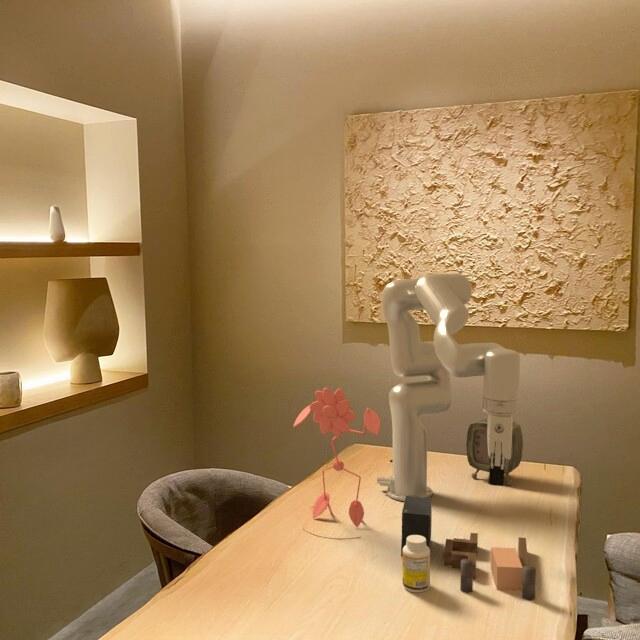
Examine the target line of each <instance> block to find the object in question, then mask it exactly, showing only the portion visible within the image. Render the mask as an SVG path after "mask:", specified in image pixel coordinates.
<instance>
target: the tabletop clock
mask: <svg viewBox="0 0 640 640" xmlns="http://www.w3.org/2000/svg"><path fill="white" fill-rule="evenodd" d="M487 423H488V415H487V416H486V417H483V418H479V419H478V420H476V421H473V422H472V423H471V424H469V427H468V430H467V433H466V435H467V436H466V444H465V445H466V457H467V462H468V464H469V466H471V467H472V468H473V469H476V470H475V472H473V473H472V474H471V478H472V479H477V478H478V473H479V472H480V471H481V472H487V473H489V472H490V465H491V458H489V457H488V444H487ZM523 440H524V439H523V432H522V428H521V425H520V424H519V423H517V422H515V421H513V423H512V446H511V459H510V460H508V459H505V457H504V475H505V477H506V478H507V480H506V485H507V486H512V485H513V481H512V480H511V479H510V474H511V472H513V471H514V470H515V469H517V468H518V467H519V466H520V464H521V461H522V458H523V450H524V449H523V447H524V443H523V442H524V441H523ZM493 465H494V464H493Z"/></svg>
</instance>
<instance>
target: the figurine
mask: <svg viewBox="0 0 640 640" xmlns="http://www.w3.org/2000/svg"><path fill="white" fill-rule="evenodd" d="M314 396H315V399H316V401H313V402H311V404H310V405H307V406H306V407H305V408H303V410H302V411H301V412H300V413H299V414H298V416H297V417H296V419H295V421H294V423H293V427H292V428H295V427H297V426H299V425H300V424H301V423H303V422H304V421H305V420H306V419H307V418H308V416H309V415H310V413H311V412H313V415H312V421H313V422H314V423H316V424H319V429H320V432H321V434H322V435H327V434H329V432H331V433H332V434H333V435H334V437H333V438H331V442H330V444H331V446H332V451H333V454H334V456H335V459H336V460H335V461H334V462H333V464H332V466H329V467H326V468H323V469H322V484H323V485H322V486H323V493H322V494H321V495H320V496H319V497H318V498H317V499H316V500H315V502H314V504H313V505H312V506H309V508H312V509H313V510H312V518H313V519H314V518H317V517H318V516H320V515H321V514H323V513H324V512H325V511H326V509H327V508H328V511H329V514H333V511H332V508H331V506H330V499H331V498H330V494H329V493H328V492H326V487H325V485H326V484H325V471H328V470H329V469H332V468H333V470H335V471H337V472H340V471H343V470H344V471H345V472H348V473H349V474H352V475H354V476H356V477H358V485H357V491H356V492H357V493H356V499H354V500H352V501H351V502H350V505H349V508H348V515H349V518H350V520H351V522H352V523H353V525H354V526H355V527H356V528H358V527H360V525H361V523H362V521H363V519H364V517H365V515H364V514H365V510H364V507H363V504H362V503H361V501H359V492H360V488H361V486H360V485H361V478H362V477H361V476H360V475H358V474H356V473H355V472H352V471H350V470H348V469H346V468H344V467H345V464H344V462H343V461H342V460H341V459H338V455H337V450H336V447H335V443H334V441H336V440H337V438H340V437H341V436H342V434H343V433H348V432H351V433H355V434H358V435H365V434H366V431H367V430H368V431H369V432H370V433H371V434H372V435H375V436H376V437H378V436H379V433H380V429H381V427H382V425H381V419H380V417H379V414H377V412H376V411H375V410H373V409H371V408H370V407H367V408H366V410H365V412H364V413H363V423H364V425H363V430H362V431H359V430H354V429H351V427H350V424H349V423H350V422H353V421H354V420H355V419H356V417H357V415H356V413H355V412H354V411H353V410H350V407H351V402H350V401H351V400H349V399H346V398H345V397H346V395H345V393H344V391H343V389H342V388H337V389H336V391H334V392H333V391H332V390H331V389H329V388H328V387H324V388H323V390H316V391H315V392H314ZM366 429H367V430H366ZM302 530H304V531H305V532H306V533H309V534H310V535H313V536H315V537H318V538H322V539H324V538H325V539H328V537H326V536H322V535H321V536H320V535H317V534H314V533H311V532H309V531H307V530H305V528H303V529H302ZM359 538H361V536H358V537H356V539H359ZM330 539H331V540H332V539H333V540H338V541H343V540H344V541H345V540H352V539H355V537H349V538H336V537H334V538H332V537H329V540H330Z"/></svg>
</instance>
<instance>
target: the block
mask: <svg viewBox="0 0 640 640" xmlns="http://www.w3.org/2000/svg"><path fill="white" fill-rule="evenodd" d="M490 570H491V574H492V577H493V580H494V584H495V588H496V590H497V591H499V590H500V591H518V592H519V591H522V590H523V585H522V580H523V567H522V564H521V562H520V559H519V556H518V551H517V550H516V547H500V546H499V547H498V546H493V547H490Z"/></svg>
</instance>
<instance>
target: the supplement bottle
mask: <svg viewBox="0 0 640 640" xmlns="http://www.w3.org/2000/svg"><path fill="white" fill-rule="evenodd" d="M402 586H403V587H404V589H405V590H406V591H409V592H412V593H423V592H425V591H427V590H429V589H430V586H431V549H429V548H428V547H427V546H426V538H425V537H423V536H420V535H410V536H408V537H407V539H406V545H405V546H404V547H403V556H402Z"/></svg>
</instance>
